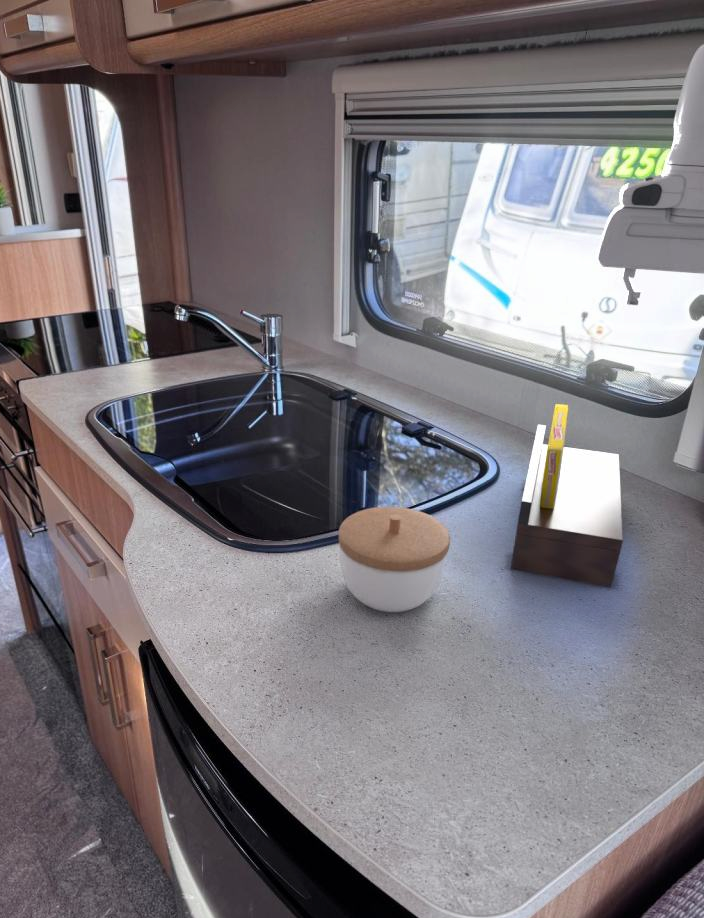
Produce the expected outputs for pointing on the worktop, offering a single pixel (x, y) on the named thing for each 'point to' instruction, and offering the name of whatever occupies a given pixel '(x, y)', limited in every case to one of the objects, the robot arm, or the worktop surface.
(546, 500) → the candy box
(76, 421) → the worktop surface
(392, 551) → the lidded bowl
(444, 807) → the worktop surface
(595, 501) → the box with raised back
